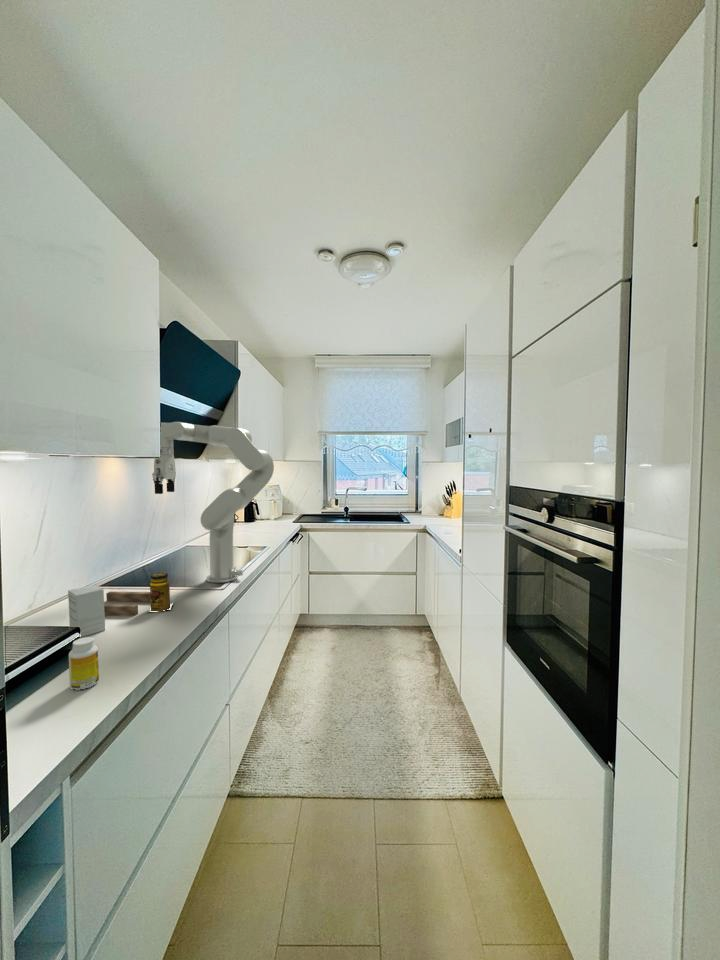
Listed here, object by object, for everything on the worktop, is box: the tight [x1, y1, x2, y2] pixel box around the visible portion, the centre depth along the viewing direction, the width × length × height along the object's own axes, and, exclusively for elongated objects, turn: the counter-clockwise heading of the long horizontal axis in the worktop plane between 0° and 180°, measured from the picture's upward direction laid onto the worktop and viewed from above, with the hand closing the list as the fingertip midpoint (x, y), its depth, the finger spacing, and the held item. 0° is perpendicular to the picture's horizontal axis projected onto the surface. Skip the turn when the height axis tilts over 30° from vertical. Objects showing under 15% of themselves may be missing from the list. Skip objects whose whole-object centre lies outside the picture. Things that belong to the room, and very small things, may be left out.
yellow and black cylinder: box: [149, 572, 171, 611], centre depth 145 cm, size 7×8×12 cm
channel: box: [104, 591, 151, 617], centre depth 146 cm, size 18×15×3 cm
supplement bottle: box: [68, 636, 100, 691], centre depth 96 cm, size 6×6×10 cm
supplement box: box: [67, 584, 106, 638], centre depth 125 cm, size 7×7×13 cm
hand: (164, 492), depth 179 cm, fingers open, 9 cm apart
